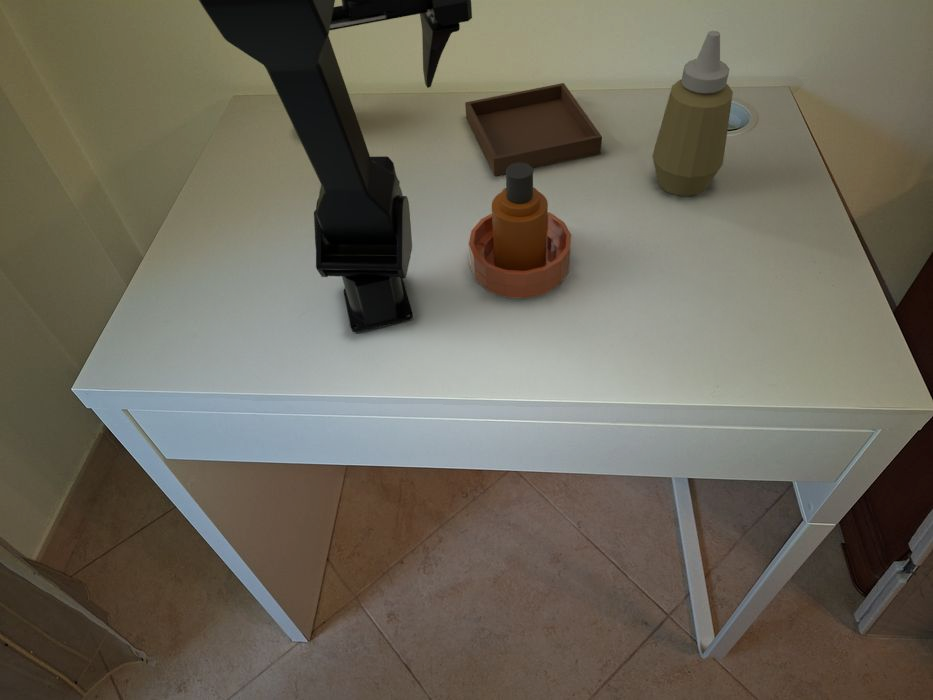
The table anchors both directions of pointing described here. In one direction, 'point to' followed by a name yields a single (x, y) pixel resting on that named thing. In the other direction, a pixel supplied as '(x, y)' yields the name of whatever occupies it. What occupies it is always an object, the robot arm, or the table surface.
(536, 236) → the bottle
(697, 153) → the squeeze bottle
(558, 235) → the bowl
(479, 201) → the table surface
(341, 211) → the robot arm
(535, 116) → the tray
